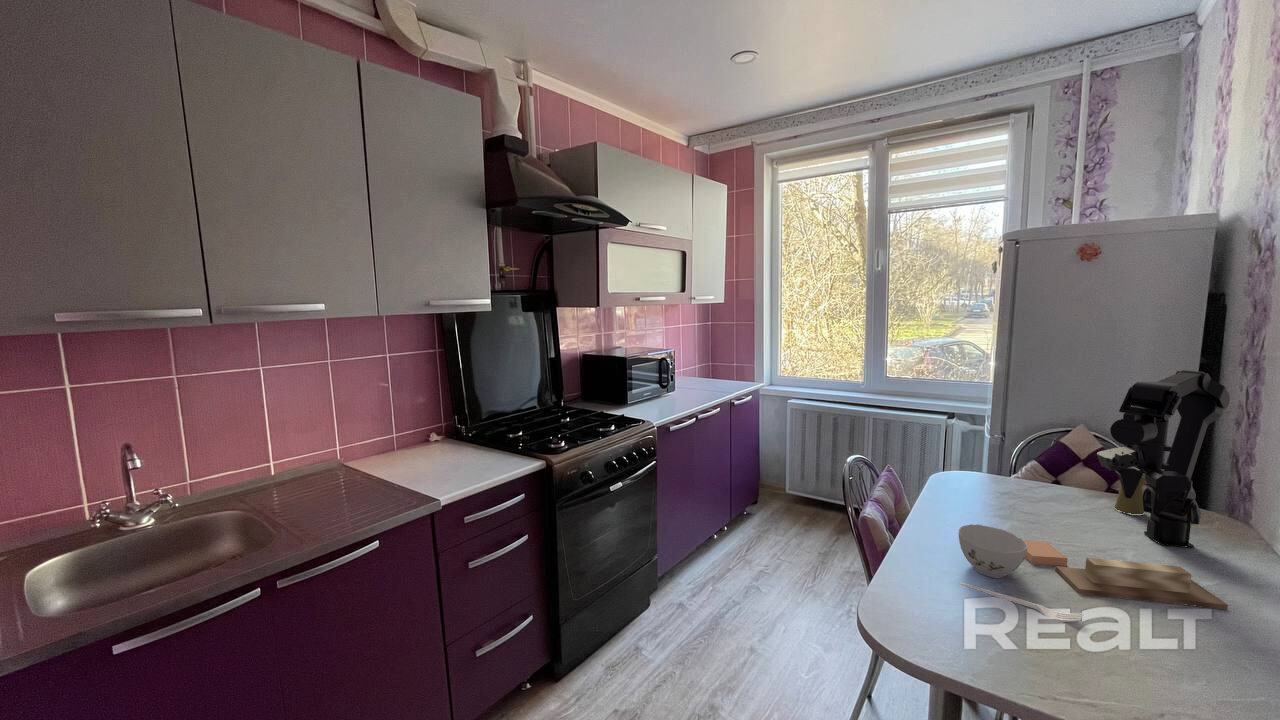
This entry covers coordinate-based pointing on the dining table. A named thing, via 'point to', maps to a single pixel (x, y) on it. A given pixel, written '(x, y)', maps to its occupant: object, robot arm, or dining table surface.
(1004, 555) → the floral ceramic bowl
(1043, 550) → the glazed tile
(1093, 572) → the oak scraper
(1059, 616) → the fork
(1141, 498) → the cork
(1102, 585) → the rest board
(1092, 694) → the dining table surface
